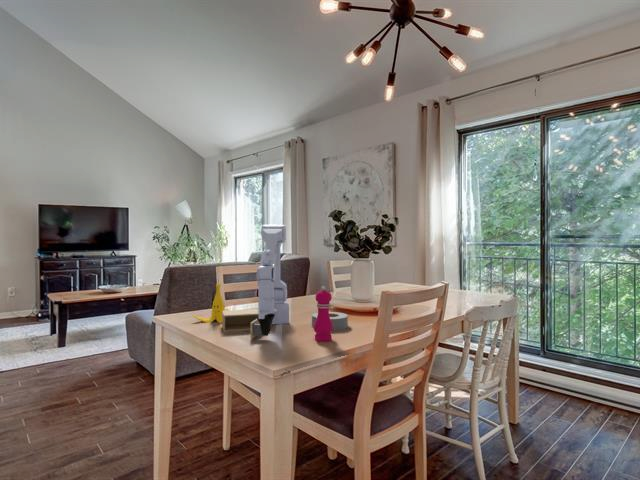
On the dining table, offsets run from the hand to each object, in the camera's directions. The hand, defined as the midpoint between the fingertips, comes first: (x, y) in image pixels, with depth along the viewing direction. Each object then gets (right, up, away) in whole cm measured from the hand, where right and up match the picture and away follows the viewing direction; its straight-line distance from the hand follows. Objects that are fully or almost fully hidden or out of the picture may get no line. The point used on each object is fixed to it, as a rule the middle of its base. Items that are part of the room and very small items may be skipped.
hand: (265, 334), depth 145 cm
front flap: (-1, -1, +6) cm, 7 cm away
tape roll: (+24, -2, +22) cm, 32 cm away
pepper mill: (+21, -2, +1) cm, 21 cm away
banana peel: (-26, -2, +33) cm, 42 cm away
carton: (-12, -2, +18) cm, 21 cm away
